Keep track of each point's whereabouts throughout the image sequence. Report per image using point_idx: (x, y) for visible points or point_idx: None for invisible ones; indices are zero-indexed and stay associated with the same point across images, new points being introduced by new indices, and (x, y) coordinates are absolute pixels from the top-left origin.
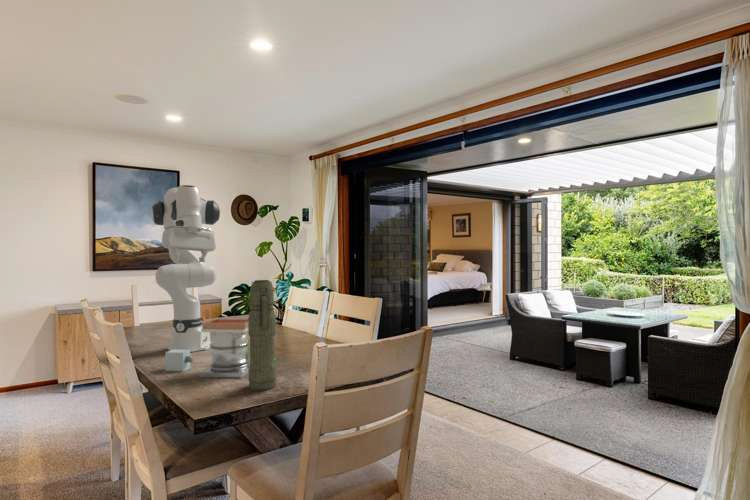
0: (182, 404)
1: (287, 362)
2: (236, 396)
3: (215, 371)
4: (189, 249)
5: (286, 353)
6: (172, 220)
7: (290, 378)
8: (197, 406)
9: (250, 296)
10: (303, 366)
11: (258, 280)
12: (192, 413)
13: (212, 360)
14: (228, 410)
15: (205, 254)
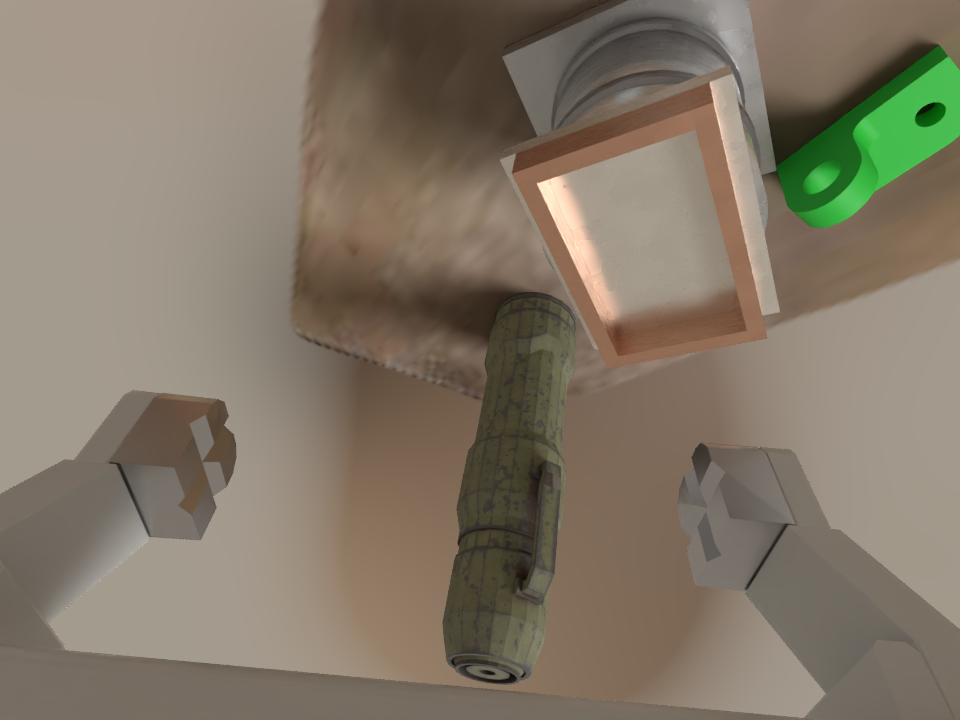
0: (301, 245)
1: (871, 230)
2: (432, 314)
3: (550, 117)
4: (462, 718)
5: None
6: None
7: None
8: (323, 285)
9: (453, 586)
10: (809, 311)
11: (493, 665)
12: (294, 305)
13: (559, 108)
14: (361, 351)
15: (823, 668)
